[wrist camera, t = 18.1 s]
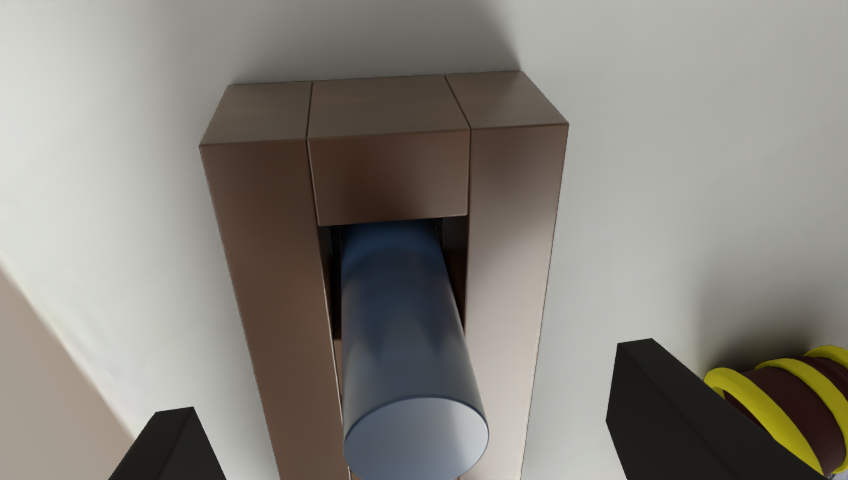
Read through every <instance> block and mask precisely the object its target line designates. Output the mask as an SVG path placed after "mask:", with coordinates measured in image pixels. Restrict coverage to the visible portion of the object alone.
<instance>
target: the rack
mask: <svg viewBox="0 0 848 480" xmlns="http://www.w3.org/2000/svg"><path fill="white" fill-rule="evenodd" d="M568 129H569V123H568V122H567V120H566V119H565V118H564V117H563V116H562V115H561V114H560V113H559V111H558V110H557V109H556V108H555V107H554V106H553V105H552V103H551V102H550V101H549V100H548V99H547V98H546V97H545V95H544V94H543V93H542V92H541V91H540V90H539V89H538V88H537V86H536V85H535V84H534V83H533V82H532V81H531V80H530V78H529V77H528V76H527V75H526V74H525V73H524V72H523V71H504V72H484V73H464V74H446V75H445V76H444V75H426V76H406V77H386V78H365V79H345V80H325V81H314V82H313V83H312V82H311V81H303V82H283V83H263V84H243V85H228V86H227V88H226V90H225V92H224V94H223V96H222V99H221V101H220V103H219V105H218V107H217V109H216V111H215V113H214V115H213V117H212V119H211V121H210V123H209V125H208V127H207V129H206V132H205V134H204V136H203V138H202V140H201V142H200V144H199V150H200V154H201V158H202V162H203V166H204V170H205V174H206V178H207V182H208V186H209V191H210V195H211V199H212V203H213V207H214V211H215V215H216V219H217V223H218V227H219V231H220V235H221V239H222V243H223V248H224V252H225V256H226V260H227V264H228V268H229V272H230V276H231V280H232V284H233V288H234V292H235V296H236V300H237V305H238V309H239V313H240V317H241V321H242V325H243V329H244V333H245V337H246V341H247V345H248V349H249V353H250V357H251V362H252V366H253V370H254V374H255V378H256V382H257V386H258V390H259V394H260V398H261V402H262V406H263V410H264V414H265V419H266V423H267V427H268V431H269V435H270V439H271V443H272V447H273V451H274V455H275V459H276V463H277V467H278V471H279V476H280V480H362V479H360V478H359V477H358V476H356V475H355V474H354V473H353V472H352V471H351V470H350V468H349V467H348V465H347V463H346V461H345V459H344V455H343V429H342V322H341V257H338V258H333V250H332V242H331V233H330V226H331V225H345V224H358V223H372V222H385V221H398V220H412V219H425V218H439V217H443V251H442V254H443V258H444V262H445V265H446V269H447V273H448V276H449V280H450V284H451V288H452V291H453V295H454V299H455V303H456V306H457V310H458V314H459V318H460V321H461V325H462V329H463V333H464V336H465V340H466V344H467V348H468V351H469V355H470V359H471V363H472V366H473V370H474V374H475V377H476V381H477V385H478V389H479V392H480V396H481V400H482V404H483V407H484V411H485V415H486V419H487V422H488V426H489V441H488V445H487V448H486V450H485V452H484V454H483V455H482V457H481V458H480V460H479V461H478V462H477V463H476V464H475V465H474V466H473V467H472V468H471V469H469V470H468V471H467V472H465V473H464V474H462V475H461V476H459V477H457V478H455V479H453V480H521V472H522V465H523V458H524V450H525V443H526V436H527V428H528V421H529V414H530V406H531V399H532V392H533V385H534V377H535V370H536V363H537V355H538V348H539V341H540V333H541V326H542V319H543V311H544V304H545V297H546V289H547V282H548V275H549V268H550V260H551V253H552V246H553V238H554V231H555V224H556V216H557V209H558V202H559V194H560V187H561V180H562V173H563V165H564V158H565V151H566V143H567V136H568Z"/></svg>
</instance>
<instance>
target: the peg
mask: <svg viewBox="0 0 848 480" xmlns="http://www.w3.org/2000/svg"><path fill="white" fill-rule="evenodd" d="M341 322H342V429H343V455H344V459H345V461H346V463H347V465H348V467H349V468H350V470H351V471H352V472H353V473H354V474H355V475H356V476H358V477H359V478H360V479H362V480H453V479H455V478H457V477H459V476H461V475H462V474H464V473H465V472H467V471H468V470H469V469H471V468H472V467H473V466H474V465H475V464H476V463H477V462H478V461H479V460H480V458H481V457H482V455H483V454H484V452H485V450H486V448H487V445H488V441H489V426H488V422H487V419H486V415H485V411H484V407H483V404H482V400H481V396H480V392H479V389H478V385H477V381H476V377H475V374H474V370H473V366H472V363H471V359H470V355H469V351H468V348H467V344H466V340H465V336H464V333H463V329H462V325H461V321H460V318H459V314H458V310H457V306H456V303H455V299H454V295H453V291H452V288H451V284H450V280H449V276H448V273H447V269H446V265H445V262H444V258H443V254H442V250H441V247H440V243H439V239H438V235H437V232H436V228H435V224H434V220H433V218H425V219H412V220H398V221H385V222H372V223H358V224H345V225H341Z"/></svg>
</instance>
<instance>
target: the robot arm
mask: <svg viewBox="0 0 848 480" xmlns="http://www.w3.org/2000/svg"><path fill="white" fill-rule="evenodd" d="M606 423H607V426H608V429H609V432H610V435H611V437H612V440H613V443H614V446H615V449H616V451H617V454H618V457H619V459H620V462H621V465H622V467H623V470H624V473H625V475H626V478H627V480H828V479H827V478H826V477H824V476H823V475H822V474H820V473H819V472H817V471H816V470H815V469H813V468H812V467H811V466H809V465H808V464H806V463H805V462H804V461H802V460H801V459H800V458H798V457H797V456H796V455H794V454H793V453H792V452H791V451H789V450H788V449H787V448H785V447H784V446H783V445H781V444H780V443H779V442H777V441H776V440H775V439H774V438H772V437H771V436H770V435H769V434H767V433H766V432H765V431H764V430H762V429H761V428H760V427H759V426H757V425H756V424H755V423H753V422H752V421H751V420H750V419H748V418H747V417H746V416H745V415H743V414H742V413H741V412H740V411H738V410H737V409H736V408H735V407H734V406H732V405H731V404H730V403H729V402H727V401H726V400H725V399H724V398H723V397H721V396H720V395H719V394H718V393H717V392H715V391H714V390H713V389H712V388H711V387H709V386H708V385H707V384H706V383H705V382H703V381H702V380H701V379H700V378H699V377H698V376H696V375H695V374H694V373H693V372H692V371H690V370H689V369H688V368H687V367H686V366H685V365H683V364H682V363H681V362H680V361H679V360H677V359H676V358H675V357H674V356H673V355H672V354H670V353H669V352H668V351H667V350H666V349H664V348H663V347H662V346H661V345H660V344H658V343H657V342H656V341H655V340H654V339H652V338H650V339H643V340H636V341H629V342H623V343H618V344H617V351H616V357H615V364H614V370H613V377H612V383H611V390H610V397H609V403H608V410H607V416H606ZM108 480H226V478H225V475H224V473H223V471H222V469H221V467H220V464H219V462H218V460H217V458H216V456H215V453H214V451H213V449H212V447H211V444H210V442H209V440H208V438H207V436H206V433H205V431H204V429H203V427H202V425H201V422H200V420H199V418H198V416H197V414H196V411H195V409H194V407H186V408H180V409H173V410H166V411H160V412H155V414H154V415H153V416H152V417H151V419H150V420H149V421H148V423H147V424H146V426H145V427H144V429H143V430H142V431H141V433H140V434H139V436H138V437H137V439H136V440H135V442H134V443H133V445H132V446H131V447H130V449H129V450H128V452H127V453H126V455H125V456H124V458H123V459H122V460H121V462H120V463H119V465H118V466H117V468H116V469H115V471H114V472H113V473H112V475H111V476H110V478H109V479H108ZM832 480H848V469H847V470H845V471H843V472H842V473H836V474H835V476H834V478H833V479H832Z"/></svg>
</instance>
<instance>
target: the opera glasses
mask: <svg viewBox="0 0 848 480" xmlns="http://www.w3.org/2000/svg"><path fill="white" fill-rule="evenodd" d="M704 382H705V383H706V384H707V385H708V386H709V387H711V388H712V389H713V390H714V391H715V392H717V393H718V394H719V395H720V396H721V397H723V398H724V399H725V400H726V401H727V402H729V403H730V404H731V405H732V406H734V407H735V408H736V409H737V410H738V411H740V412H741V413H742V414H743V415H745V416H746V417H747V418H748V419H750V420H751V421H752V422H753V423H755V424H756V425H757V426H759V427H760V428H761V429H762V430H764V431H765V432H766V433H767V434H769V435H770V436H771V437H772V438H774V439H775V440H776V441H777V442H779V443H780V444H781V445H783V446H784V447H785V448H787V449H788V450H789V451H791V452H792V453H793V454H794V455H796V456H797V457H798V458H800V459H801V460H802V461H804V462H805V463H806V464H808V465H809V466H811V467H812V468H813V469H815V470H816V471H817V472H819V473H820V474H822V475H823V476H824V477H827V476H829V475H830V474H831V473H833V474H834V473H842V472H843V471H845V470H847V469H848V350H846V349H843V348H841V347H837V346H832V345H825V346H819V347H817V348H815V349H812V350H810V351H808V352H807V353H806V354H804V355H801V356H795V357H793V358H791V359H788V358H782V359H775V360H770V361H766V362H762V363H760V364H759V365H757V366H756V368H755V369H754V370H751V371H747V372H742V373H738V372H736V371H734V370H731V369H728V368H715V369H713V370H710V371H709V372H708V373H707V374H706V376H705V378H704Z"/></svg>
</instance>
